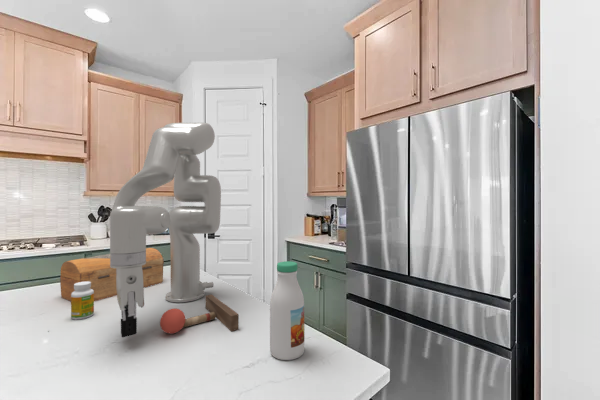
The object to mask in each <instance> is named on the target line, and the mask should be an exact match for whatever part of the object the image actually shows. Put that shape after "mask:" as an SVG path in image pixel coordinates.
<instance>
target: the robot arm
mask: <svg viewBox="0 0 600 400" xmlns="http://www.w3.org/2000/svg"><path fill="white" fill-rule="evenodd" d="M213 128H214V127H213V126H212V125H211V124H210V123H207V122H172V123H167V124H165V125H164V126H163V127H160V128H157V129H155V131H154V132H153V133H152V137H151V139H150V143H149V145H148V149H147V153H146V156H145V160H144V162H143V163H144V164H143V166H142V168H141V170H140V171H139V172H137V173H136V174H135V175H133V176H132V177H131V178H130V179H129V180H128V181H127V182H126V183H125V184H123V185H122V187H121V188H120V190H119V191H118V192H117V194H116V197H115V199H114V202H113V204H112V205H113V206H112V209H111V211H110V214H109V254H110V267H111V268H116V290H117V295H116V298H117V299H116V300H117V303H118V307H119V309H120V310H121V312H120V313H121V318H120V336H121V338H126V337H130V336H135V335H137V333H138V332H137V331H138V329H137V327H138V317H137V306H138V307H139V308H144V307H145V288H144V285H143V271H142V265H145V264H146V248H147V235H160V234H162V233H164V232H165V231H167V230H168V232H169V241H170V291H169V292H168V293H166V294H165V300H166V301H167V302H171V303H189V302H193V301H196V300H199V299H201V298H203V297H204V296H205V289H212V288H214V287H215V285H214V282H213V281H211V282H208V281H204V282H202V281H200V280H201V276H200V275H201V273H200V272H201V271H200V267H201V265H200V264H201V263H200V260H201V258H200V256H201V254H200V253H201V248H200V247H201V246H200V242H199V241H198V239H197V238H196V236H195V235H194V234H197V235H198V234H200V235H201V234H207V235H209V234H214V233H216V232H217V231H218V230H219V229H220V226H221V206H222V205H221V204H222V203H221V201H222V199H221V198H222V187H221V183H220V180H219V178H217V176H214V175H209V174H207V175H205V174H204V175H203V174H202V175H201V161H200V159H199V157H198V155H200V154H202V153H204V152H205V151H207V150H209V149H210V148H212V146H213V145H214V142H215V137H216V136H215V131H214V129H213ZM172 181H173V195H174V198H175V199H176V201H178V202H182V203H204V205H198V206H197V205H182V206H181V205H179V206H175V207H173V208H171V209H170V210H169V211H168V210H167V209H166V208H165V207H162V206H158V205H136V204H137V202H138V201H139V199H141V198H142V197H143V196H144V195H145V194H147V193H148V192H150V191H152V190H155V189H157V188H160V187H162V186H164V185H166V184H168V183H170V182H172Z"/></svg>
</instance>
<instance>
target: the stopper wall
mask: <svg viewBox="0 0 600 400" xmlns="http://www.w3.org/2000/svg"><path fill="white" fill-rule="evenodd" d="M205 309H206V310H207V311H208V313H211V312H215V315H216V318H215V319H217V320H218V321H219V322H220V323H221V324H222V325H223V326H225V328H227V329H228V331H230V332H235V331H239V319H240V318H239V313H238V312H236V311H235V310H233V309H232V308H231V307H230V306H228V305H227V304H226V303H224V302H222V300H220V299H219V298H218V297H216V296H214V294H205Z"/></svg>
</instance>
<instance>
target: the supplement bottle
mask: <svg viewBox="0 0 600 400" xmlns="http://www.w3.org/2000/svg"><path fill="white" fill-rule="evenodd" d="M90 287H91V282H89V281H85V282H78V283H75V284H74V290H75V291H74V292H72V294H71V301H70V318H71V320H74V321H75V320H85V319H88V318H91V317H92V316H94V314H95V301H94V290H93V289H90Z"/></svg>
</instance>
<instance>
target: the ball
mask: <svg viewBox="0 0 600 400" xmlns="http://www.w3.org/2000/svg"><path fill="white" fill-rule="evenodd" d="M185 319H186V315H185V313H184V312H183V310H181V309H179V308H170V309H167V310H166V311H165V312H164V313H163V314H162V315H161V317H160V321H159V325H160V329H161V330H162V331H163V332H165V333H166V334H176V333H178V332H180V331H181V330H182V329H183V326H184V324H185Z"/></svg>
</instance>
